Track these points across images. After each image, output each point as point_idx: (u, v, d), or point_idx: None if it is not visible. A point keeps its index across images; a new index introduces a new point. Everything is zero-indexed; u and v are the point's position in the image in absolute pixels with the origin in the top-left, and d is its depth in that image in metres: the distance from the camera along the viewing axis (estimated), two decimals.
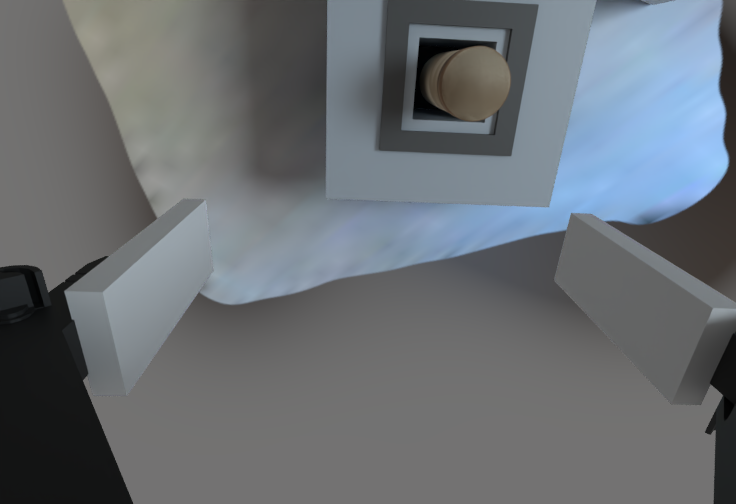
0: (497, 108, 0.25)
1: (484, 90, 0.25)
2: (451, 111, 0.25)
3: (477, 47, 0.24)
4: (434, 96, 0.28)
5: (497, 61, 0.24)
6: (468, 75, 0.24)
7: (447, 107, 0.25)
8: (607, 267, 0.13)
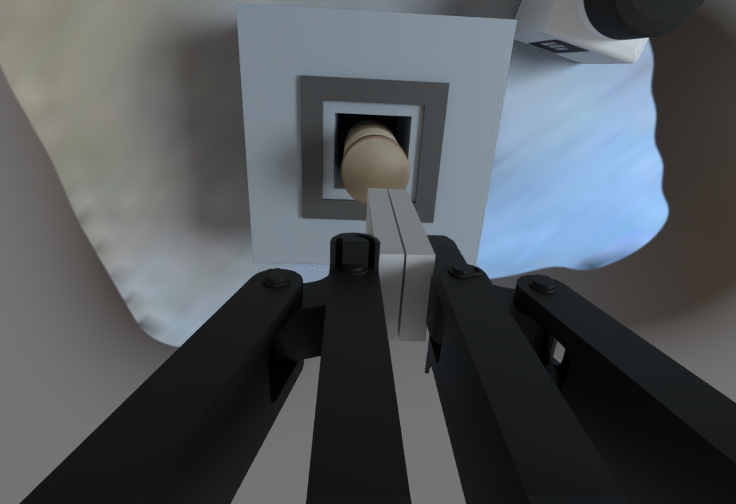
0: None
1: (384, 177, 0.25)
2: (353, 196, 0.26)
3: (373, 138, 0.24)
4: None
5: (394, 151, 0.25)
6: (367, 164, 0.25)
7: (349, 193, 0.26)
8: None
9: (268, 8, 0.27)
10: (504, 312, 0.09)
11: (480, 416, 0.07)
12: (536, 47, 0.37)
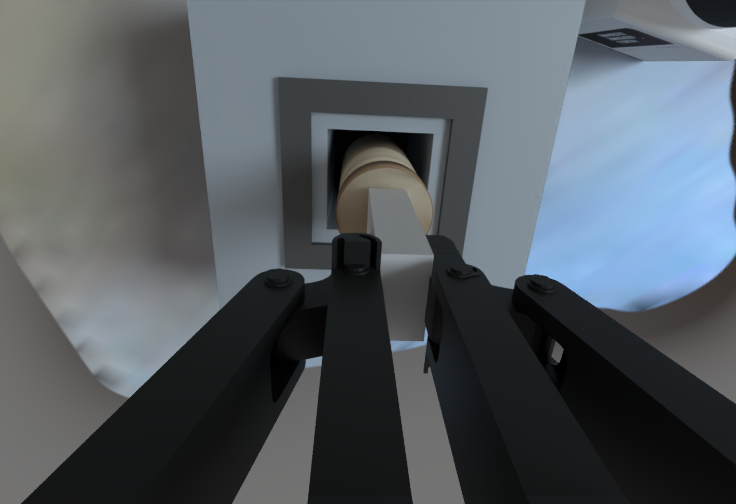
0: None
1: None
2: None
3: (382, 168, 0.17)
4: None
5: (412, 186, 0.17)
6: None
7: None
8: None
9: None
10: (502, 312, 0.09)
11: (479, 415, 0.07)
12: None
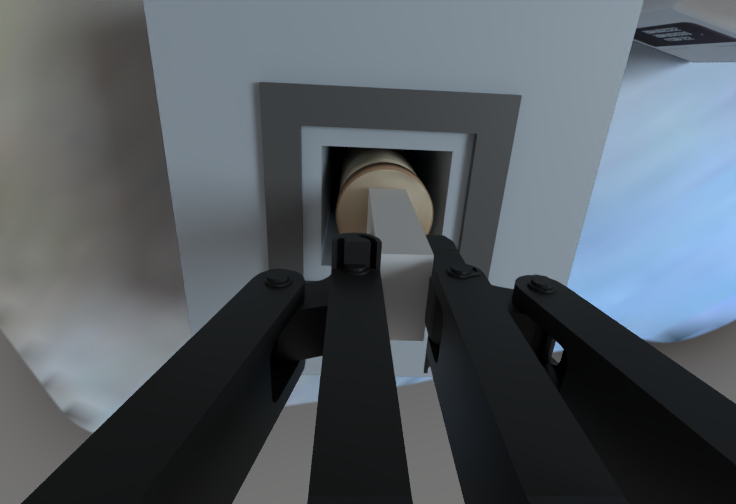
0: None
1: None
2: None
3: (382, 170, 0.17)
4: None
5: (412, 187, 0.17)
6: None
7: None
8: None
9: None
10: (503, 312, 0.09)
11: (479, 416, 0.07)
12: None
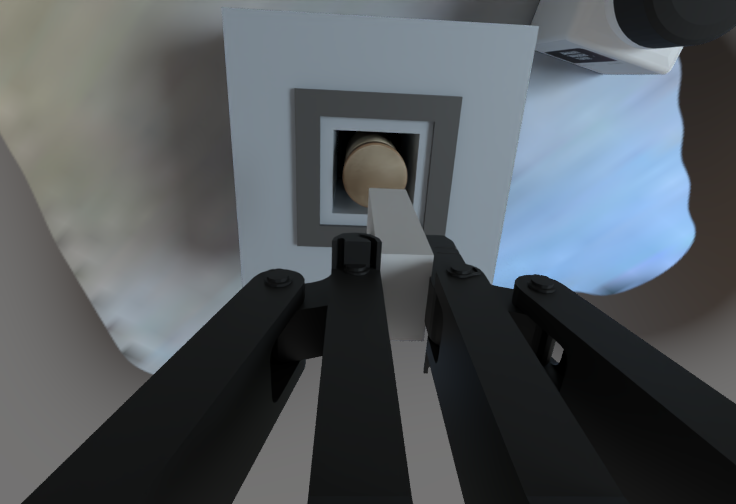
0: None
1: (383, 181, 0.27)
2: (354, 199, 0.27)
3: (373, 145, 0.26)
4: None
5: (393, 157, 0.26)
6: (367, 169, 0.26)
7: (350, 196, 0.27)
8: None
9: (258, 14, 0.24)
10: (502, 312, 0.09)
11: (479, 415, 0.07)
12: (554, 56, 0.34)
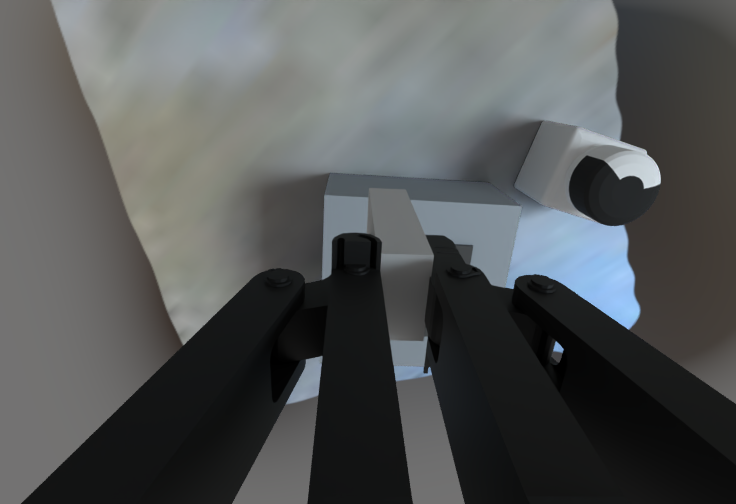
0: None
1: None
2: None
3: None
4: None
5: None
6: None
7: None
8: None
9: (346, 198, 0.38)
10: (502, 312, 0.09)
11: (479, 415, 0.07)
12: None
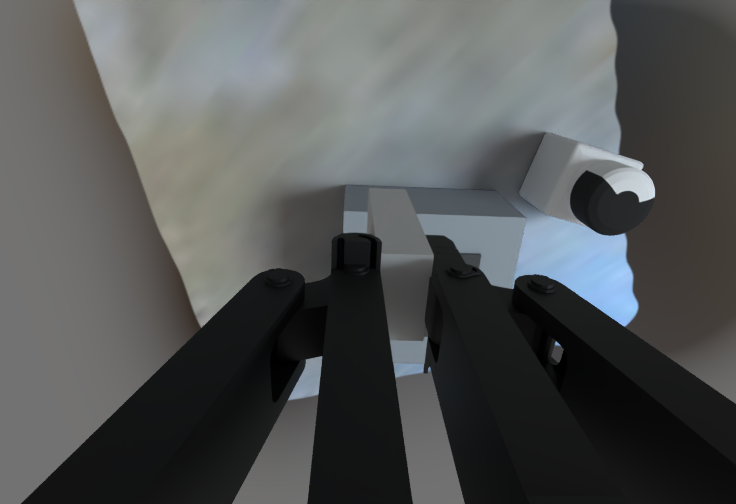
0: None
1: None
2: None
3: None
4: None
5: None
6: None
7: None
8: None
9: (364, 214, 0.41)
10: (502, 312, 0.09)
11: (479, 416, 0.07)
12: None
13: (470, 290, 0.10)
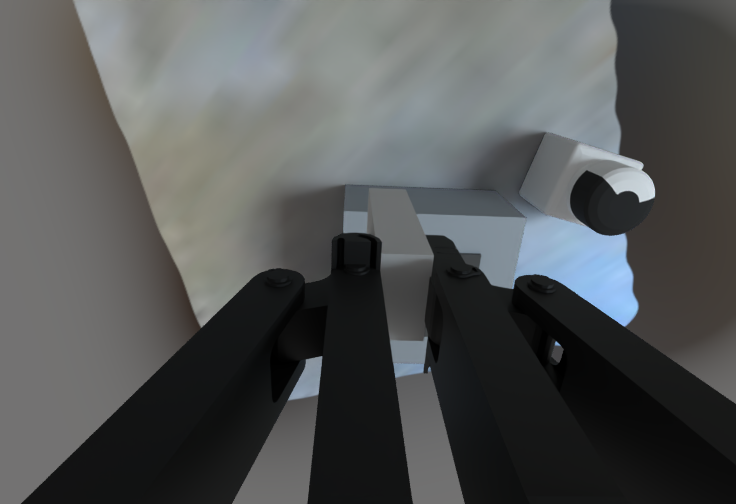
0: None
1: None
2: None
3: None
4: None
5: None
6: None
7: None
8: None
9: (364, 214, 0.41)
10: (502, 312, 0.09)
11: (479, 416, 0.07)
12: None
13: (470, 290, 0.10)
